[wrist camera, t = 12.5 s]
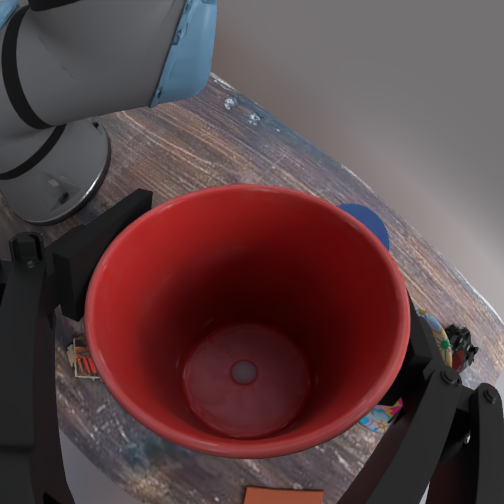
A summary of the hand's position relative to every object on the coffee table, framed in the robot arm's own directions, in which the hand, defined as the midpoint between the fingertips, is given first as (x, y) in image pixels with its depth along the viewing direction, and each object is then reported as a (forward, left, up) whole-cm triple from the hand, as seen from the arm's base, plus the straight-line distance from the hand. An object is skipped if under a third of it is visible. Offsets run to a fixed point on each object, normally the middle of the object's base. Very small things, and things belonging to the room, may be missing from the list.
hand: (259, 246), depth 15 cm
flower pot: (+7, +1, -4) cm, 8 cm away
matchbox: (+10, -15, -16) cm, 24 cm away
